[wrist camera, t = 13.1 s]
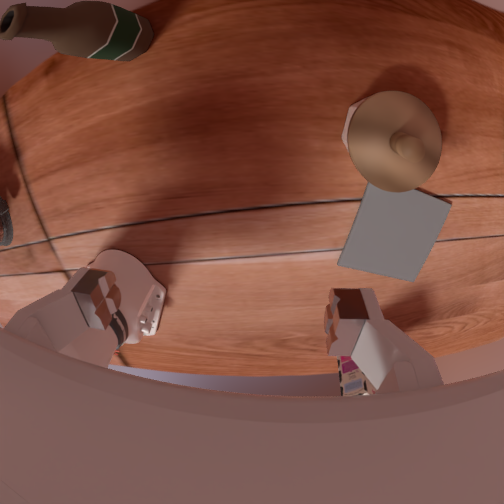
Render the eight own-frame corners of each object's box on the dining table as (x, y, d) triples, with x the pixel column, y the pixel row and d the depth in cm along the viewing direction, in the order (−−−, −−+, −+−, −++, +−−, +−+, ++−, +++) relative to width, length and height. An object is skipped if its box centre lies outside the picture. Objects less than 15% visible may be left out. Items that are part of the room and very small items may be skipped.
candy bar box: (331, 331, 54) (340, 401, 40) (353, 321, 52) (368, 391, 38) (351, 357, 58) (360, 419, 44) (370, 349, 56) (383, 411, 42)
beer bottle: (158, 12, 26) (43, -34, 6) (154, 58, 30) (27, 44, 10) (112, 22, 26) (-9, 4, 6) (109, 66, 30) (-20, 75, 10)
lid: (423, 198, 32) (442, 215, 28) (338, 178, 33) (348, 193, 28) (445, 109, 25) (468, 114, 21) (355, 78, 26) (369, 75, 21)
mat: (412, 280, 45) (413, 282, 45) (337, 263, 45) (337, 265, 44) (450, 203, 37) (451, 205, 36) (371, 173, 36) (372, 174, 36)
